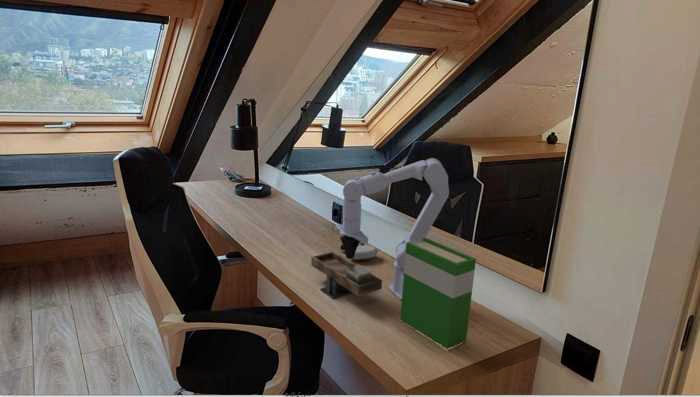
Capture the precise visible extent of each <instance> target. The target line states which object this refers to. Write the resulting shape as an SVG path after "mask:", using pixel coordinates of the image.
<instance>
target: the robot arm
mask: <svg viewBox="0 0 700 397" xmlns="http://www.w3.org/2000/svg"><path fill="white" fill-rule="evenodd" d="M423 177H424V181H425V182H427V184H428V185H429V188H430V190H431V193H430V195H429V196H428V198H427V200H426V202H425V204H424V206H423V208H422V209H421V211H420V212H419V213H420V214H419V215H418V216H417V218H416V220H415V222H414V224H413V226H412V228H411V229H410V231H409V232H408V234H407V235H406V236H405V237H404V239H403V240H402V241H401V242H400V243H398V244H397V245H396V248H395V253H396V260H395V261H394V263H393V275H392V284H390V285H387V286H386V287H387V288H388V289H389V291H391V292H392V293H393V294H394V295H395V296H396V297H397V298H398V299H399V300H401V299H402V293H403V280H404V267H405V254H406V243H407V242H410V243H412V244H417V243H420V242H423V238H427V235H428V233H429V232H430V229H431V227H432V226H433V224H434V222H435V221H436V220H437V217H438V215H439V214H440V212H441V211H442V208H443V206H444V205H445V203H446V201H447V200H448V198H449V194H450V188H449V176H448V173H447V171H446V169H445V168H444V166H443V164H442V162H441V161H440V160H439V159H437V158H433V157H431V158H428V159H426V160H424V159H422V160H419V161H416V162H413V163H410V164H407V165H405V166H402V167H400V168H397V169H395V170H392V171H389V172H385V173H383V172H381V171H375V170H372V171H370V174H367V175H364V176H361V177H360V176H356V177H355V178H352V179H348V180H347V181H346V182H345V184H344V186H343V189H342V193H343V203H342V223H341V224H340V223H338V224H336V225H335V227H334V230H335V231H336V232H338V233H339V235H340V237H339V239H340V242H341V244H342V245H343V246H344V249H345V250H344V253H345V259H347V260H350V259H353V258H354V255H355V252H356V249H357V247H358V245H359V243H360V242H361V243H362V244H364V245H365V244H368V243H369V236H368V235H367V236H366V235H365V233H363V231H362V230H361V224H362V223H361V221H362V220H361V219H362V203H361V202H362V196H368V195H371V194H374V193H377V192H380V191H384V190H385V189H386V187H387V185H389V184H392V183H396V182H400V181H404V180H407V179H411V178H414V179H416V180H419V181H423ZM335 231H334V232H335Z"/></svg>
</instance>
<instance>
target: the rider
mask: <svg viewBox="0 0 700 397" xmlns="http://www.w3.org/2000/svg"><path fill="white" fill-rule="evenodd" d="M356 265H357V264H356ZM371 274H372V271H370V270H369V269H367V268H366V267H364V266H363V265H360V264H358V265H357V266H353V267H349V268H347V273H346V277H347V278H348V279H350V280H352V281H353V282H355V283H356V284H358V285H359V286H360V285H363V284H366V283H369V282H371Z"/></svg>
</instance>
